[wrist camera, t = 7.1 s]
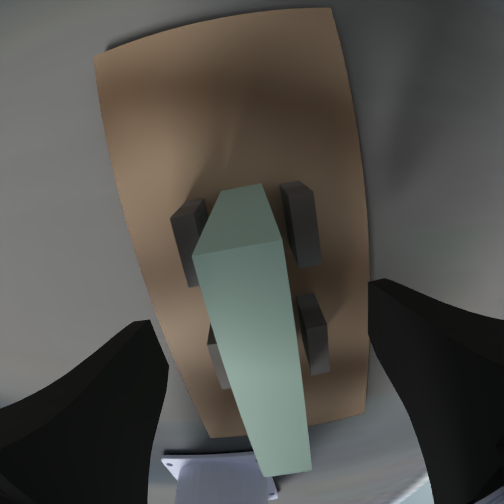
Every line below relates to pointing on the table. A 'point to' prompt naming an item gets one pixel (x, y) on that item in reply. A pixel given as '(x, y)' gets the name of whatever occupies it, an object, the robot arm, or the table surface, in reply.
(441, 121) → the table surface
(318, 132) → the rail
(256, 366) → the door panel
